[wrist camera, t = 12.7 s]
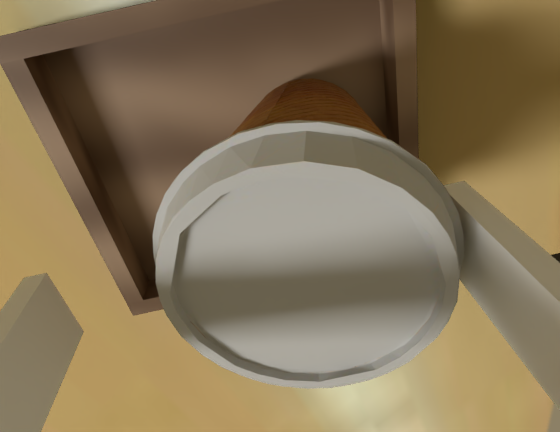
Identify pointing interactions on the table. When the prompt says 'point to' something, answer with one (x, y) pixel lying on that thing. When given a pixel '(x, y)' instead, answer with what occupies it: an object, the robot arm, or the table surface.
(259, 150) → the disposable coffee cup
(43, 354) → the robot arm
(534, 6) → the table surface
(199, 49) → the walnut tray
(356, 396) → the table surface
